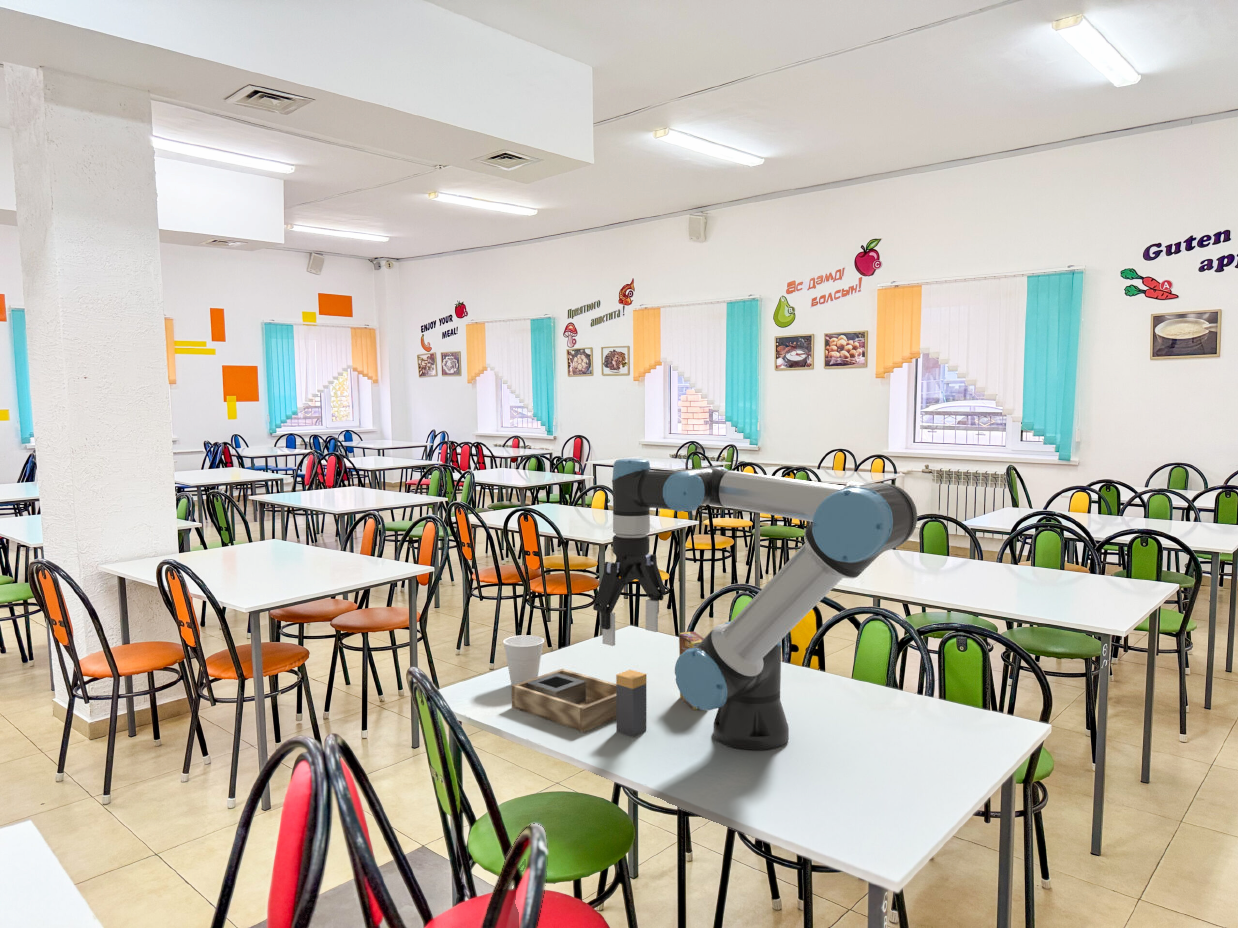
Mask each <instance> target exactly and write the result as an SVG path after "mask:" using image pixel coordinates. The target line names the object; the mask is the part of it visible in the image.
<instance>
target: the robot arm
mask: <svg viewBox="0 0 1238 928" xmlns="http://www.w3.org/2000/svg"><path fill="white" fill-rule="evenodd" d="M650 465H651V463H650V461H649V460H648V459H646V458H645V459H644V458H620V459H617V460H615V461H614V463H613V467H612V468H613V470H612V479H611V483H612V486H611V487H612V506H613V507H612V508H613V509H612V533H613V534H615V535H613V536H612V553H613V554H614V555H615V562H612V561H611V562H610V561H605V562H604V564H603V565H604V566H603V567H604V568H603V575H602V577H601V581H600V584H599V587H598V591H597V593H596V597H595V599H594V603H593V605H592V609H593V610H594V611H596V612H600V626H601V630H602V644H604V645H606V646H607V645H608V646H611V647H614V646H616V612H613V611H614V608H615V606H616V604H617V603H618V601H619V598H620V596H621V594H622V593H623V591H624V589H625V586H627V585H628V584H629V582H633V581H636V580H637V581H638V583H639V584H640V587H641V588H642V589H643V591H644V593H645V594H646V596H647V597H648V598H647V599H645V631H649V632H653V633H658V632H659V625H658V624H659V622H658V621H659V614H660V613H659V612H660V610H659V609H660V607H659V606H660V601H663V600H664V596H666V594H667V591H666V588H665V585H664V581H663V579H662V575H661V572H660V570H659V566H658V561H657V555H656V554H651V553H650V537H649V535H648V534H650V532H651V531H650V530H651V524H650V523H651V520H650V519H651V516H650V514H651V511H650V509H661V510H670V511H675V512H678V513H679V512H693V511H696V510H697V509H698V508H699V507H700V506H705V505H707V506H709V505H711V506H716V507H723V508H730V509H735V510H741V511H749V512H754V513H759V514H766V515H772V516H777V517H783V518H788V519H793V520H800V521H807V522H811V523H810V524H809V525H808V527H807V528H806V529H804V541H805V543H804V544H803V545H802V546H800V548H799V549H798V550H797V552H795V554H793V555H792V557H791V558H790V559H788V561H787V562H786V563H785V564H784V565H783V566H782V567H781V568H780V569H779V570H778V571H777V573H775V575H773V577H772V578H771V579H770V580H769V581H768V582H767V583H766V584H765V586H763V587H762V589H761V590H759V592H758V593H757V594H756V595H755V596H754V597H753V598H752V599H751V600H750V601H749V602H748V604H746V605H745V606H744V607H743V609H742V610H741V611H740V612H739V613H738V614H737V615H736V616H735V617H734V618H733V619H732V620H731V621H727V622H725V623H720V624H717V625H716V626H715V627H713V629H711V631H710V632H709V633H708V634H707V635H706V636H705V637H703V638H704V639H703V640H702V641H701V642H700V643H699V644H698V645H697V646H696V647H694V648H689V649H688V650H686V651H685V652H683V653H682V654H681V655H680V656H678V658H677V660H676V662H675V666H674V675H675V683H676V686H677V689H678V690H679V694H680V693H681V694H682V696H683V697H684V698H685V700H686V701H687V702H688V703H690V704H691V705H692V706H694V707H695V708H698V709H699V710H702V711H713V710H715V709H717V710H716V715H715V718H714V721H713V737H714V738H715V739H716V740H717V742H720V743H721V744H724V745H727V746H729V747H733V748H737V749H743V750H753V751H759V750H762V751H763V750H769V749H770V750H771V749H776V748H779V747H782V746H783V745H785V744H786V743H787V742H788V740H789V738H790V737H789V736H790V735H789V732H790V730H789V729H790V728H789V724H788V722H787V721H788V720H787V718H786V714H785V712H784V707H783V703H782V701H781V684H782V683H781V680H782V679H781V678H782V677H781V674H782V673H781V672H782V669H781V668H782V665H781V664H782V648H783V645H782V640H783V639H784V638H785V637H786V636H787V635H788V634H789V633H790V632H791V631H792V630H793V629H794V628H795V627H796V626H797V625H798V623H800V622H801V621H802V620H803V618H804V617H806V615H807V614H809V612H810V611H811V610H813V609H814V607H816V605H818V604H819V602H821V601H822V600H823V599H824V598H825V597H826V596H827V595H828V594H829V593H830V592H831V590H833V589H834V588H835V587H836V586H837V585H838V584H839V583H840V581H842V580H843V579H856V578H858V577H859V576H860V575H861V574H862V573H863V572H864V571H865V570H866V569H867V568H868V567H869V566H870V565H872V563H874V561H876V559H877V558H878V557H879V556H880V555H882V554H883V553H885V552H888V551H891V550H893V549H895V548H898V547H900V546H901V545H903V544H905V543H906V542H907V541H908V540H909V539H910V538H911V537H912V535H913V534H914V531H915V529H917V528H916V527H917V523H918V512H917V506H916V504H915V502H914V500H913V498H912V497H911V496H910V495H909V493H908V492H906V491H905V490H904V489H903V488H901V487H900V486H898V485H896V484H892V483H887V482H886V483H885V482H880V483H879V482H876V483H871V482H869V483H868V482H860V481H859V482H858V481H850V482H848V483H847V484H846V485H839V484H833V483H825V482H819V481H816V482H815V481H809V480H804V479H803V480H802V479H794V478H790V477H789V478H788V477H782V476H781V477H779V476H774V475H765V474H758V473H751V472H744V471H736V470H729V469H727V468H725V467H722V466H707V467H702V468H701V467H700V468H693V469H692V468H691V469H680V470H653V469H651V466H650ZM687 702H686V703H687ZM688 703H687V704H688Z"/></svg>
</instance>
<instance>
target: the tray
mask: <svg viewBox="0 0 1238 928" xmlns="http://www.w3.org/2000/svg"><path fill="white" fill-rule="evenodd" d="M554 673H559V674H562V675H566V676H569V677H573V678H576V679H579V680H583V681H586V701H584V702H582V703H579V704H575V703H571V702H568V701H565V700H562V699H559V698H556V697H553V696H549V695H546V694H543V693H540V692H537V691H534V690H531V689H527V682H530V681H533V680H536V679H539V678H542V677H545V676H548V675H551V674H554ZM511 708H512V709H515V710H517V711H519V712H520V711H521V712H523V713H526V714H529V715H532V716H535V717H538V718H541V719H544V720H547V721H549V722H553V723H554V724H559V725H561V726H565V727H567V728H569V729H572V730H576V731H577V732H578V731H579V732H582V733H585V732H588V731H590V730H592V729H595V728H597V727H600V726H602V725H604V724H607V723H609V722H611V721H615V720H616V683H614V682H610V681H607V680H603V679H600V678H596V677H593V676H590V675H587V674H582V673H579V672H575V671H572V670H568V669H565V668H561V669H557V670H555V671H552V672H549V673H545V674H543V675H538V677H536V678H533V679H530V680H527V681H524V682H521V683H518V684H515V685H511Z"/></svg>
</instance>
